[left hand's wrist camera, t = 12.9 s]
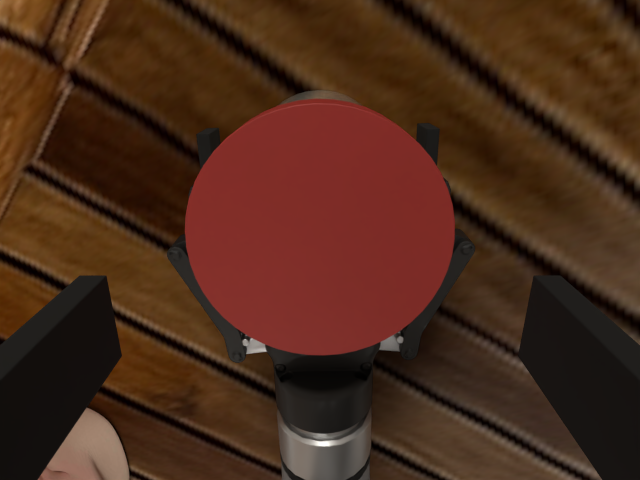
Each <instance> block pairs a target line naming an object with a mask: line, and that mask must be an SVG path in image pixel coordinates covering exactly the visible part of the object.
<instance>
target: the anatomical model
mask: <svg viewBox="0 0 640 480" xmlns="http://www.w3.org/2000/svg"><path fill="white" fill-rule="evenodd" d="M38 480H129V468H128V464H127V460H126V456H125V453H124V450H123V447H122V444H121V442H120V439H119V437H118V435H117V433H116V431H115V430H114V428H113V427H112V425H111V424H110V423H109V422H108V421H107V420H106V419H105V418H104V417H103V416H102V415H100V414H99V413H97V412H95V411H93V410H91V409H89V408H86V409H85V411H84V412H83V414H82V415H81V417H80V418H79V420H78V421H77V423H76V424H75V426H74V427H73V428H72V430H71V431H70V433H69V434H68V436H67V437H66V439H65V440H64V442H63V443H62V445H61V446H60V448H59V449H58V451H57V452H56V453H55V455H54V456H53V458H52V459H51V461H50V462H49V464H48V465H47V467H46V468H45V470H44V471H43V473H42V474H41V476H40V477H39V478H38Z"/></svg>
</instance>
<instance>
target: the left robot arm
mask: <svg viewBox="0 0 640 480" xmlns="http://www.w3.org/2000/svg"><path fill="white" fill-rule="evenodd" d="M121 356H122V354H121V349H120V344H119V339H118V333H117V328H116V323H115V318H114V313H113V308H112V302H111V297H110V292H109V287H108V282H107V277H106V276H79V277H78V278H76V279H75V280H74V281H73V282H72V283H71V284H70V285H68V286H67V287H66V288H65V289H64V290H63V291H62V292H61V293H59V294H58V295H57V296H56V297H55V298H54V299H53V300H51V301H50V302H49V303H48V304H47V305H46V306H45V307H43V308H42V309H41V310H40V311H39V312H38V313H37V314H35V315H34V316H33V317H32V318H31V319H30V320H29V321H28V322H26V323H25V324H24V325H23V326H22V327H21V328H20V329H18V330H17V331H16V332H15V333H14V334H13V335H12V336H10V337H9V338H8V339H7V340H6V341H5V342H4V343H2V344H1V345H0V480H38V478H39V477H40V476H41V474H42V473H43V471H44V470H45V468H46V467H47V465H48V464H49V462H50V461H51V459H52V458H53V456H54V455H55V453H56V452H57V451H58V449H59V448H60V446H61V445H62V443H63V442H64V440H65V439H66V437H67V436H68V434H69V433H70V431H71V430H72V428H73V427H74V426H75V424H76V423H77V421H78V420H79V418H80V417H81V415H82V414H83V412H84V411H85V409H86V408H87V406H88V405H89V403H90V402H91V401H92V399H93V398H94V396H95V395H96V393H97V392H98V390H99V389H100V387H101V386H102V384H103V383H104V381H105V380H106V378H107V377H108V376H109V374H110V373H111V371H112V370H113V368H114V367H115V365H116V364H117V362H118V361H119V359H120V358H121ZM518 356H519V358H520V359H521V361H522V362H523V364H524V365H525V367H526V368H527V370H528V371H529V373H530V374H531V376H532V377H533V378H534V380H535V381H536V383H537V384H538V386H539V387H540V389H541V390H542V392H543V393H544V395H545V396H546V398H547V399H548V401H549V402H550V403H551V405H552V406H553V408H554V409H555V411H556V412H557V414H558V415H559V417H560V418H561V420H562V421H563V423H564V424H565V426H566V427H567V428H568V430H569V431H570V433H571V434H572V436H573V437H574V439H575V440H576V442H577V443H578V445H579V446H580V448H581V449H582V451H583V452H584V453H585V455H586V456H587V458H588V459H589V461H590V462H591V464H592V465H593V467H594V468H595V470H596V471H597V473H598V474H599V476H600V477H601V478H602V480H640V345H639V344H638V343H636V342H635V341H634V340H633V339H632V338H631V337H630V336H628V335H627V334H626V333H625V332H624V331H623V330H622V329H620V328H619V327H618V326H617V325H616V324H615V323H614V322H612V321H611V320H610V319H609V318H608V317H607V316H606V315H605V314H603V313H602V312H601V311H600V310H599V309H598V308H597V307H595V306H594V305H593V304H592V303H591V302H590V301H589V300H587V299H586V298H585V297H584V296H583V295H582V294H581V293H579V292H578V291H577V290H576V289H575V288H574V287H573V286H571V285H570V284H569V283H568V282H567V281H566V280H565V279H564V278H562V277H561V276H534V277H533V282H532V287H531V292H530V297H529V302H528V308H527V313H526V318H525V323H524V328H523V333H522V339H521V344H520V349H519V354H518Z"/></svg>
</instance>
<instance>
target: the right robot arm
mask: <svg viewBox="0 0 640 480" xmlns="http://www.w3.org/2000/svg"><path fill="white" fill-rule="evenodd" d="M196 135H197V143H198V151H199V160H200V168H201V169H202V167H203V165H204V164H205V163H206V161H207V160H208V158H209V157H210V156H211V154H212V153H213V152H214V150H215V149H216V148H217V147H218V146H219V145H220V136H219V128H207V129H205V130H203V131H202V132H200V133H198V134H196ZM416 141H417V142H418V143H419V144H420V145H421V146H422V147H423V148H424V150H425V151H426V152H427V153H428V154H429V156H430V157H431V158H432V160H433V161H434V163H435V164H436V166H437V156H438V142H439V128H437V127H435V126H433V125H431V124H429V123H420V124H417V140H416ZM443 179H444V178H443ZM444 181H445V183H446V185H447V188H448V191H449V194H450V192H451V189H450V186H449V183H448V181H447V180H446V179H444ZM193 186H194V185H193ZM193 186H192V187H191V188H190V192H189V197H190V194H191V191H192V188H193ZM474 251H475V246H474V244H473V243H472V242H471V241H470V239H469V238H468V237H467V236H466V235H465V234H464V232H463V231H461V230H460V229H455V240H454V246H453V253H452V257H451V261H450V264H449V267H448V271H447V273H446V275H445V277H444V280H443V282H442V284H441V286H440V288H439V289H438V291H437V293H436V294H435V296H434V297H433V299H432V300H431V301H430V303H429V304H428V305H427V306H426V308H425V309H424V310H423V311H422V312H421V313H420V314H419V315H418V316H417V317H416V318H415V319H414V320H413V321H412V322H411V323H410V324H408V325H407V326H406V327H404V328H403V329H402V330H400V331H399V332H397V333H396V334H394V335H392V336H391V337H389V338H387V339H386V340H384V341H381V342H379V343H377V344H375V345H372V346H370V347H367V348H363V349H360V350H357V351H353V352H348V353H343V354H335V355H305V354H298V353H291V352H287V351H283V350H279V349H276V348H273V347H271V346H268V345H265V344H263V343H261V342H259V341H257V340H255V339H253V338H251V337H249V336H247V335H246V334H244V333H243V332H241V331H240V330H238V329H237V328H235V327H234V326H233V325H232V324H231V323H229V322H228V321H227V320H226V319H225V318H224V317H223V316H222V315H221V314H220V313H219V312H218V311H217V310H216V309H215V308H214V307H213V306H212V304H211V303H210V301H209V300H208V299H207V297H206V296H205V294H204V293H203V291H202V289H201V287H200V286H199V284H198V282H197V280H196V278H195V275H194V273H193V270H192V267H191V265H190V261H189V257H188V252H187V248H186V237H185V234H183V235H181V236H180V237H179V238H178V239H177V240H176V242H175V243H174V244H173V245H172V246H171V248H170V249H169V250H168V252H167V257H168V259H169V260H170V262H171V263H172V265H173V266H174V267H175V269H176V270H177V272H178V273H179V275H180V276H181V277H182V279H183V280H184V282H185V283H186V284H187V286H188V287H189V289H190V290H191V291H192V293H193V294H194V296H195V297H196V298H197V300H198V301H199V303H200V304H201V305H202V307H203V308H204V310H205V311H206V313H207V314H208V315H209V317H210V318H211V320H212V321H213V322H214V324H215V325H216V327H217V328H218V329H219V331H220V332H221V334H222V335H223V336H224V339H225V343H226V347H227V351H228V355H229V358H230V359H231V360H232V361H233V362H236V363H239V362H242V361H243V360H244V359H245V357H246V354H251V353H259V352H267V353H268V354H269V355H270V357H271V358H272V360H273V364H274V376H275V390H276V403H277V407H278V411H277V419H278V430H279V441H280V455H281V461H282V480H370V449H371V421H372V408H371V404H372V382H373V360H374V357H375V355H376V354H377V352H378V351H379V350H387V351H400V353H401V356H402V357H403V358H404V359H406V360H411V359H414V358H415V357H416V356H417V353H418V348H419V343H420V338H421V334H422V332H423V331H424V329H425V328H426V326H427V325H428V323H429V321H430V320H431V318H432V317H433V315H434V314H435V312H436V311H437V309H438V308H439V306H440V304H441V303H442V301H443V300H444V298H445V297H446V295H447V294H448V292H449V291H450V289H451V288H452V286H453V284H454V283H455V281H456V280H457V278H458V277H459V275H460V274H461V272H462V271H463V269H464V268H465V266H466V264H467V263H468V261H469V260H470V258H471V257H472V255H473V254H474Z"/></svg>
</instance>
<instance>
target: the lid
mask: <svg viewBox="0 0 640 480" xmlns="http://www.w3.org/2000/svg"><path fill="white" fill-rule="evenodd" d="M185 237H186V248H187V252H188V257H189V261H190V265H191V267H192V270H193V273H194V275H195V278H196V280H197V282H198V284H199V286H200V287H201V289H202V291H203V293H204V294H205V296H206V297H207V299H208V300H209V301H210V303H211V304H212V306H213V307H214V308H215V309H216V310H217V311H218V312H219V313H220V314H221V315H222V316H223V317H224V318H225V319H226V320H227V321H228V322H229V323H231V324H232V325H233V326H234V327H235V328H237V329H238V330H240V331H241V332H243V333H244V334H246V335H247V336H249V337H251V338H253V339H255V340H257V341H259V342H261V343H263V344H265V345H268V346H271V347H273V348H276V349H279V350H283V351H287V352H291V353H298V354H305V355H335V354H343V353H348V352H353V351H357V350H360V349H363V348H367V347H370V346H372V345H375V344H377V343H379V342H381V341H384V340H386V339H387V338H389V337H391V336H392V335H394V334H396V333H397V332H399V331H400V330H402V329H403V328H404V327H406V326H407V325H408V324H410V323H411V322H412V321H413V320H414V319H415V318H416V317H417V316H418V315H419V314H420V313H421V312H422V311H423V310H424V309H425V308H426V306H427V305H428V304H429V303H430V301H431V300H432V299H433V297H434V296H435V294H436V293H437V291H438V289H439V288H440V286H441V284H442V282H443V280H444V277H445V275H446V273H447V271H448V267H449V264H450V261H451V257H452V253H453V246H454V240H455V219H454V212H453V205H452V201H451V198H450V194H449V191H448V188H447V185H446V183H445V181H444V179H443V176H442V174H441V172H440V171H439V169H438V167H437V166H436V164H435V163H434V161H433V160H432V158H431V157H430V156H429V154H428V153H427V152H426V151H425V150H424V148H423V147H422V146H421V145H420V144H419V143H418V142H417V141H416V140H415V139H414V138H412V137H411V136H410V135H409V134H408V133H407V132H406V131H404V130H403V129H402V128H400V127H399V126H398V125H397V124H395V123H394V122H392V121H391V120H389V119H388V118H386V117H385V116H383V115H381V114H379V113H377V112H375V111H373V110H371V109H369V108H367V107H364V106H361V105H357V104H354V103H351V102H346V101H340V100H335V99H307V100H298V101H294V102H290V103H286V104H282V105H279V106H276V107H274V108H271V109H269V110H266V111H264V112H263V113H261V114H259V115H257V116H256V117H254V118H252V119H250V120H249V121H248V122H246V123H245V124H244V125H243V126H241V127H240V128H239V129H237V130H236V131H235V132H234V133H232V134H231V135H230V136H228V137H227V138H226V139H225V140H224V141H223V142H222V143H221V144H220V145H219V146H218V147H217V148H216V149H215V150H214V152H213V153H212V154H211V156H210V157H209V158H208V160H207V161H206V163H205V164H204V165H203V167H202V169H201V171H200V173H199V175H198V177H197V178H196V180H195V183H194V186H193V188H192V191H191V194H190V197H189V201H188V206H187V211H186V221H185Z"/></svg>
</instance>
